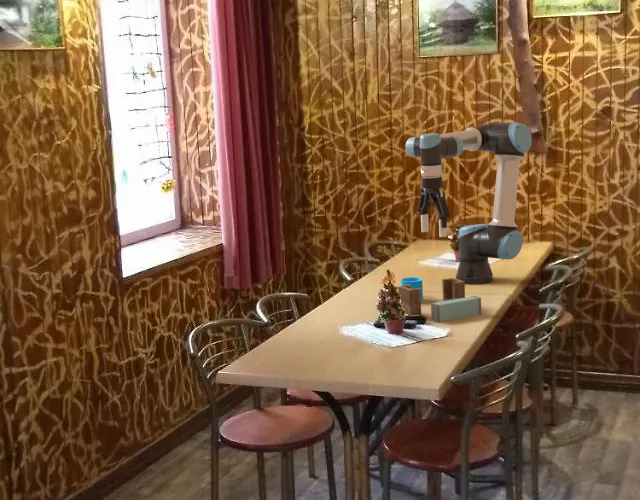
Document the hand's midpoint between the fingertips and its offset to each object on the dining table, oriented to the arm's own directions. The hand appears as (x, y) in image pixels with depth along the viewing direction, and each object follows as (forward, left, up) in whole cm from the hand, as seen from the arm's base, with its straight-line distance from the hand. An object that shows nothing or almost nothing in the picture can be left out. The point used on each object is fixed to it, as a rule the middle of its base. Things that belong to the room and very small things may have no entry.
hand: (434, 234), depth 344 cm
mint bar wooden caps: (+6, +7, -27) cm, 28 cm away
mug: (+2, -13, -27) cm, 30 cm away
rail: (+4, +20, -27) cm, 33 cm away
